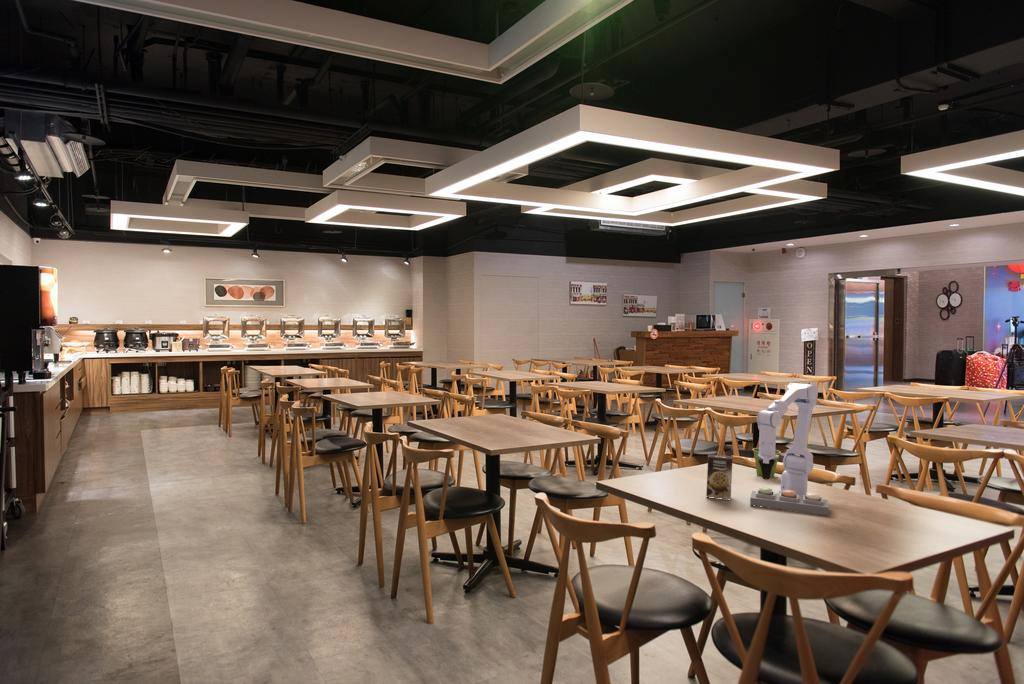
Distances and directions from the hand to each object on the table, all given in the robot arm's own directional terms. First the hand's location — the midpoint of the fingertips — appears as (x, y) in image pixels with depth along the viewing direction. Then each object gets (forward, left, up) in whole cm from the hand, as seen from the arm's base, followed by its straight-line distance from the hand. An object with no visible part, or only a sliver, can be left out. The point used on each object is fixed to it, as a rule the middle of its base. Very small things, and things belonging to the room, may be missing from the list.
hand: (766, 478), depth 237 cm
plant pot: (-35, +33, -10) cm, 49 cm away
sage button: (0, 0, -5) cm, 5 cm away
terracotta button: (+6, +6, -5) cm, 10 cm away
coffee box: (-12, -11, -10) cm, 19 cm away
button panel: (+6, +6, -9) cm, 12 cm away
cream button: (+11, +11, -5) cm, 17 cm away
